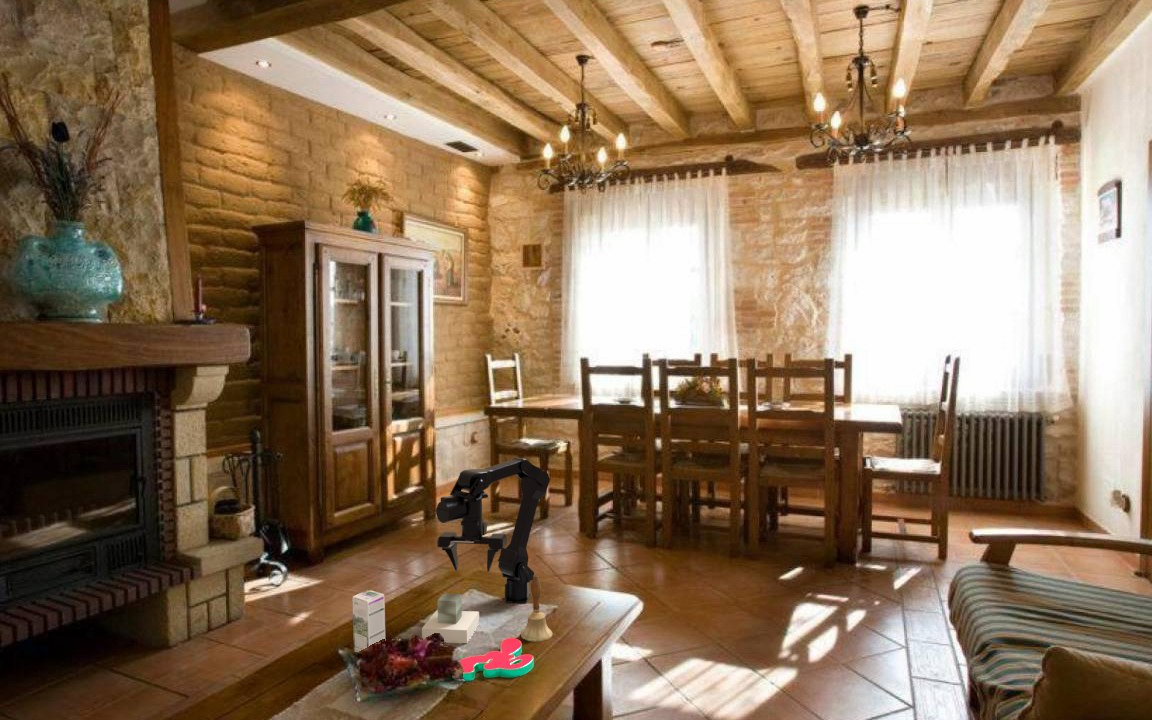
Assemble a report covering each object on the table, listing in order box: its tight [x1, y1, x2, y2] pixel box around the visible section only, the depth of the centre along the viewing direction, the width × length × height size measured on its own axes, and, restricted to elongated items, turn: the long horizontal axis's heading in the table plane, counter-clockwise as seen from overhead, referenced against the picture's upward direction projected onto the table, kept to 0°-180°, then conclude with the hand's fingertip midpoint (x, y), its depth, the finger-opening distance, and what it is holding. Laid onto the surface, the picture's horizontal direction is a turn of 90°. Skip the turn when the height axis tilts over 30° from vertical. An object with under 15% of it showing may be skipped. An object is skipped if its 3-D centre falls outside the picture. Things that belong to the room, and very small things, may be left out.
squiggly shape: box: [458, 637, 535, 682], centre depth 166 cm, size 20×16×2 cm
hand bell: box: [520, 574, 553, 643], centre depth 182 cm, size 8×8×16 cm
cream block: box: [421, 609, 480, 644], centre depth 184 cm, size 12×12×4 cm
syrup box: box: [352, 589, 386, 653], centre depth 173 cm, size 6×6×14 cm
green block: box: [437, 592, 463, 624], centre depth 184 cm, size 5×5×6 cm
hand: (472, 570), depth 195 cm, fingers open, 9 cm apart
